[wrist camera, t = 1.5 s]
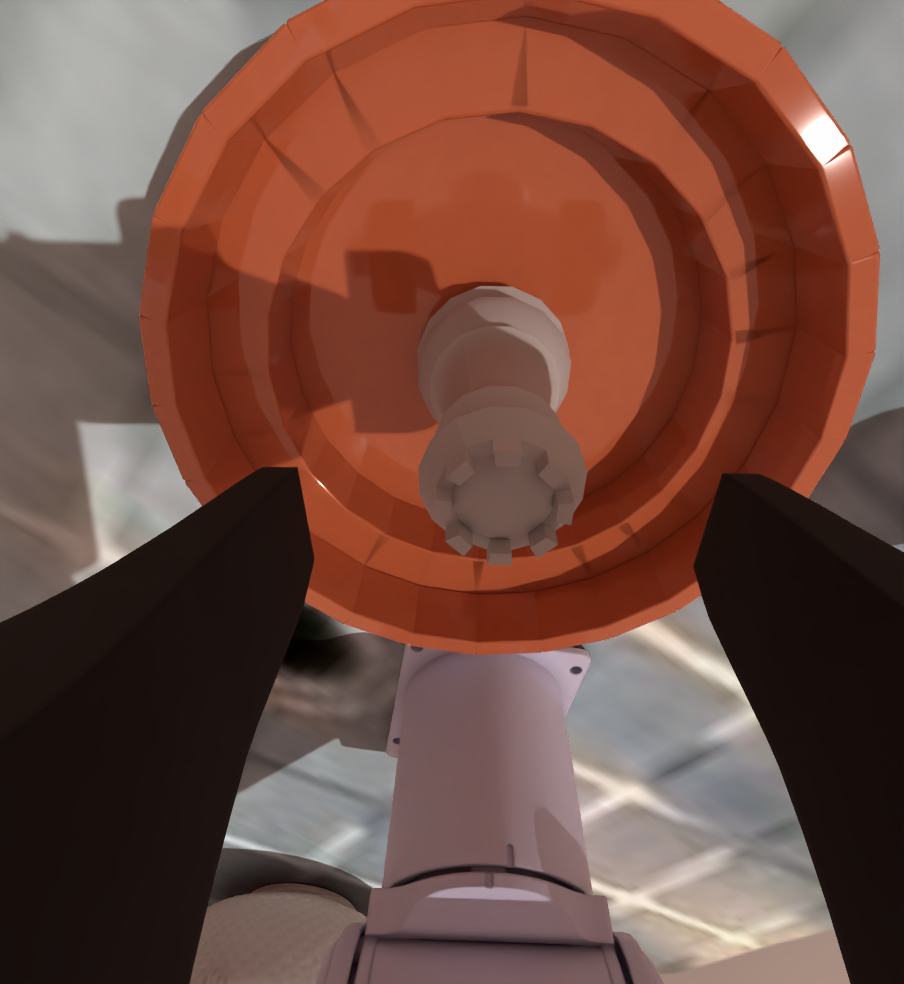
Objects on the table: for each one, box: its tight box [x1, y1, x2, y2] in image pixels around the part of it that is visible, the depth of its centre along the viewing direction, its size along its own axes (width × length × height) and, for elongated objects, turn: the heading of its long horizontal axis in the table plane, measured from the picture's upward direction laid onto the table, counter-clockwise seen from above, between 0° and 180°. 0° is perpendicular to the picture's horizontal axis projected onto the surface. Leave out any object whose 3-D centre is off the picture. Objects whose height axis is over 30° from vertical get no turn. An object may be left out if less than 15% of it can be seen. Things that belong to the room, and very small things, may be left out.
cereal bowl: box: [190, 883, 367, 984], centre depth 37 cm, size 17×17×7 cm
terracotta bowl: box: [139, 0, 880, 655], centre depth 15 cm, size 16×16×5 cm
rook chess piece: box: [417, 286, 587, 565], centre depth 13 cm, size 4×4×8 cm
